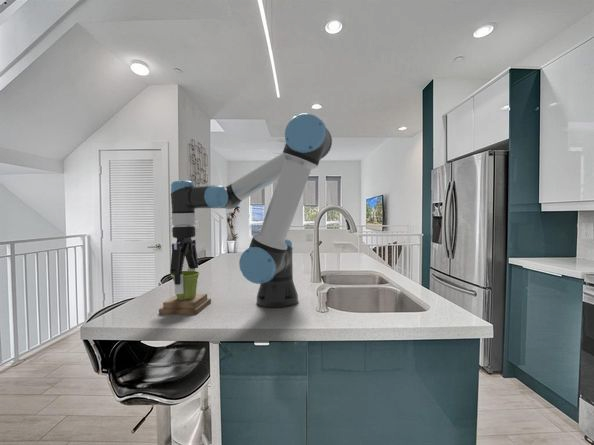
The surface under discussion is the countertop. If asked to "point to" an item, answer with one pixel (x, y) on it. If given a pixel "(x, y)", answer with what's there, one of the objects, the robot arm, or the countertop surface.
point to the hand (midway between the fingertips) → (185, 289)
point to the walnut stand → (185, 305)
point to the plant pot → (188, 285)
